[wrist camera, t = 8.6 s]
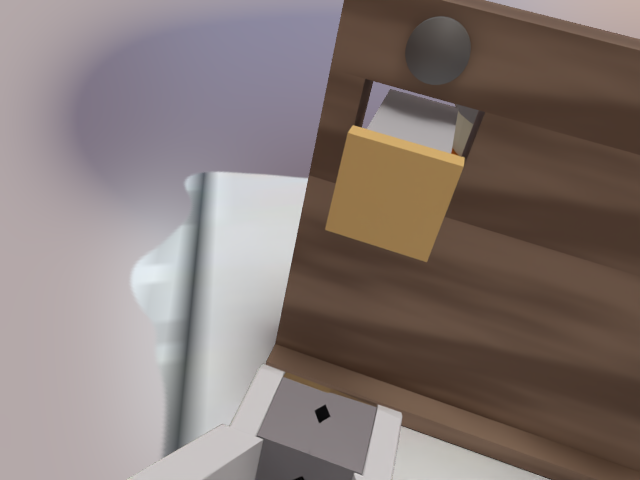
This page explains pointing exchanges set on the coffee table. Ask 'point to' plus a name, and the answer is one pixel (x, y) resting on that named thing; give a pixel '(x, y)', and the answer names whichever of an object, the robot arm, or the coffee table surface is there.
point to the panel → (488, 242)
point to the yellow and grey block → (398, 176)
